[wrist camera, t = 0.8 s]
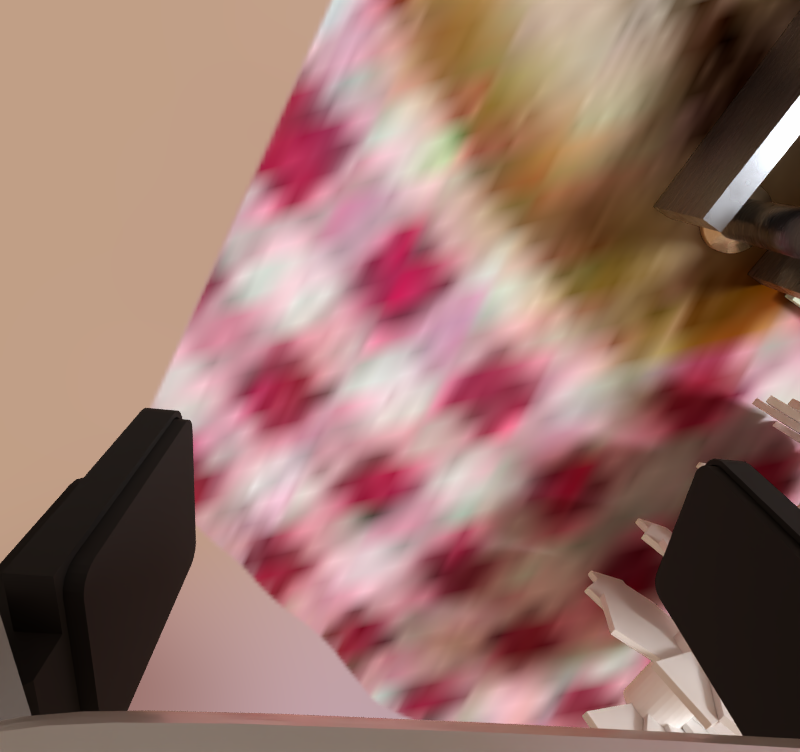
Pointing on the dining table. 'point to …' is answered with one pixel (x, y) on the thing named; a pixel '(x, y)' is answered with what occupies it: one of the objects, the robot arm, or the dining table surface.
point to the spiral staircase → (666, 642)
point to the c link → (745, 156)
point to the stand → (759, 228)
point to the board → (793, 300)
